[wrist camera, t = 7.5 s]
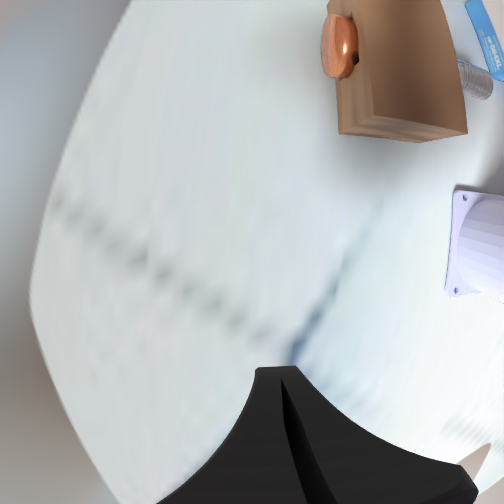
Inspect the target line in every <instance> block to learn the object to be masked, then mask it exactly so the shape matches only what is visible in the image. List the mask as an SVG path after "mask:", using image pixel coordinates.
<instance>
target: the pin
mask: <svg viewBox="0 0 504 504" xmlns="http://www.w3.org/2000/svg"><path fill="white" fill-rule="evenodd" d="M358 46H359V40H358V31H357V27H356V24H355V22H354V20H353V19H352V18H351V17H348V16H343V15H336V14H330V15H328V17H327V18H326V20H325V23H324V26H323V31H322V38H321V59H322V66H323V70H324V72H325V74H326V75H327V76H329V77H337V78H348V77H350V75H351V74H352V72H353V70H354V68H355V65H356V64H357V63H358V62H359V53H358ZM457 63H458V68H459V73H460V78H461V84H462V90H463V93H464V94H467V95H470V96H473V97H475V98H478V99H481V100H485V99H487V98H489V96H490V95H491V93H492V90H493V81H492V77H491V75H490V74H489V73H488V72H487V71H486V70H484V69H481V68H479V67H477V66H474V65H472V64H470V63H467V62H465V61H462V60H460V59H457Z"/></svg>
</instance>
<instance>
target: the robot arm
mask: <svg viewBox="0 0 504 504" xmlns="http://www.w3.org/2000/svg"><path fill="white" fill-rule="evenodd" d="M463 195H464V200H463ZM455 288H456V290H455V291H454V289H455ZM476 293H484V294H486V295H488V296H490V297H492V298H494V299H496V300H498V301H500V302H502V303H503V304H504V196H501V195H494V194H487V193H480V192H472V191H464V190H456V191H455V192H454V194H453V216H452V232H451V244H450V254H449V263H448V271H447V278H446V285H445V294H446V295H447V296H448V297H454V296H461V295H469V294H476ZM478 492H479V491H478V489H477V487H476V485H475V484H474V482H473V481H472V479H471V478H470V476H469V475H468V474H467V472H466V471H465V470H464V468H463V467H462V466H461V465H456V464H451V463H447V462H442V461H438V460H434V459H430V458H426V457H423V456H420V455H418V454H415V453H412V452H409V451H406V450H404V449H402V448H399V447H397V446H395V445H393V444H391V443H389V442H387V441H385V440H383V439H381V438H379V437H377V436H375V435H373V434H372V433H370V432H368V431H367V430H365V429H363V428H362V427H360V426H359V425H357V424H356V423H354V422H353V421H352V420H350V419H349V418H348V417H346V416H345V415H344V414H343V413H342V412H340V411H339V410H338V409H337V408H336V407H335V406H333V405H332V404H331V403H330V402H329V401H328V400H327V399H326V398H325V397H324V396H323V395H322V394H321V393H320V392H319V391H318V390H317V389H316V388H315V387H314V386H313V385H312V384H311V383H310V381H309V380H308V379H307V378H306V377H305V376H304V374H303V373H302V372H301V371H300V370H299V368H298V367H296V366H279V367H258V368H257V369H256V370H255V378H254V382H253V386H252V389H251V392H250V394H249V397H248V399H247V402H246V404H245V406H244V408H243V410H242V412H241V414H240V416H239V418H238V419H237V421H236V423H235V425H234V426H233V428H232V430H231V431H230V433H229V434H228V436H227V437H226V439H225V440H224V441H223V443H222V444H221V445H220V447H219V448H218V449H217V450H216V451H215V453H214V454H213V455H212V456H211V457H210V459H209V460H208V461H207V462H206V463H205V464H204V465H203V466H202V467H201V468H200V469H199V470H198V471H197V472H196V473H195V474H194V475H193V476H192V477H190V478H189V479H188V480H187V481H186V482H185V483H184V484H183V485H181V486H180V487H179V488H178V489H177V490H175V491H174V492H172V493H171V494H170V495H168V496H167V497H165V498H164V499H163V500H161V501H160V502H158V503H157V504H473V503H474V501H475V499H476V497H477V495H478Z"/></svg>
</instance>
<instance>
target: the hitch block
mask: <svg viewBox="0 0 504 504" xmlns="http://www.w3.org/2000/svg"><path fill="white" fill-rule="evenodd" d="M327 10H328V15H330V14H336V15H343V16H348V17H351V18H352V19H353V20H354V22H355V24H356V27H357V31H358V40H359V46H358V53H359V62H358V63H357V64H356V65H355V68H354V70H353V72H352V74H351V75H350V77H348V78H337V77H335V80H336V93H337V108H338V127H339V134H347V135H358V136H368V137H378V138H386V139H394V140H401V141H408V142H415V143H422V142H427V141H432V140H437V139H442V138H447V137H452V136H458V135H464V134H468V130H467V120H466V111H465V103H464V96H463V90H462V84H461V78H460V73H459V68H458V63H457V58H456V54H455V50H454V45H453V41H452V38H451V34H450V30H449V27H448V23H447V20H446V17H445V13H444V10H443V7H442V4H441V1H440V0H330V1H329V3H328V5H327Z"/></svg>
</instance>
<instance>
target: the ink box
mask: <svg viewBox="0 0 504 504" xmlns="http://www.w3.org/2000/svg"><path fill="white" fill-rule="evenodd" d="M465 7H466V9H467V11H468V13H469V16H470V18H471V21H472V23H473V25H474V28H475V30H476V33H477V35H478V38H479V41H480V44H481V47H482V49H483V52H484V55H485V59H486V62H487V65H488V68H489V71H490V74H491V77H492V78H495V79H498V80H500V81H503V82H504V0H469V1H468V2H467V3H465Z"/></svg>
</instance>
